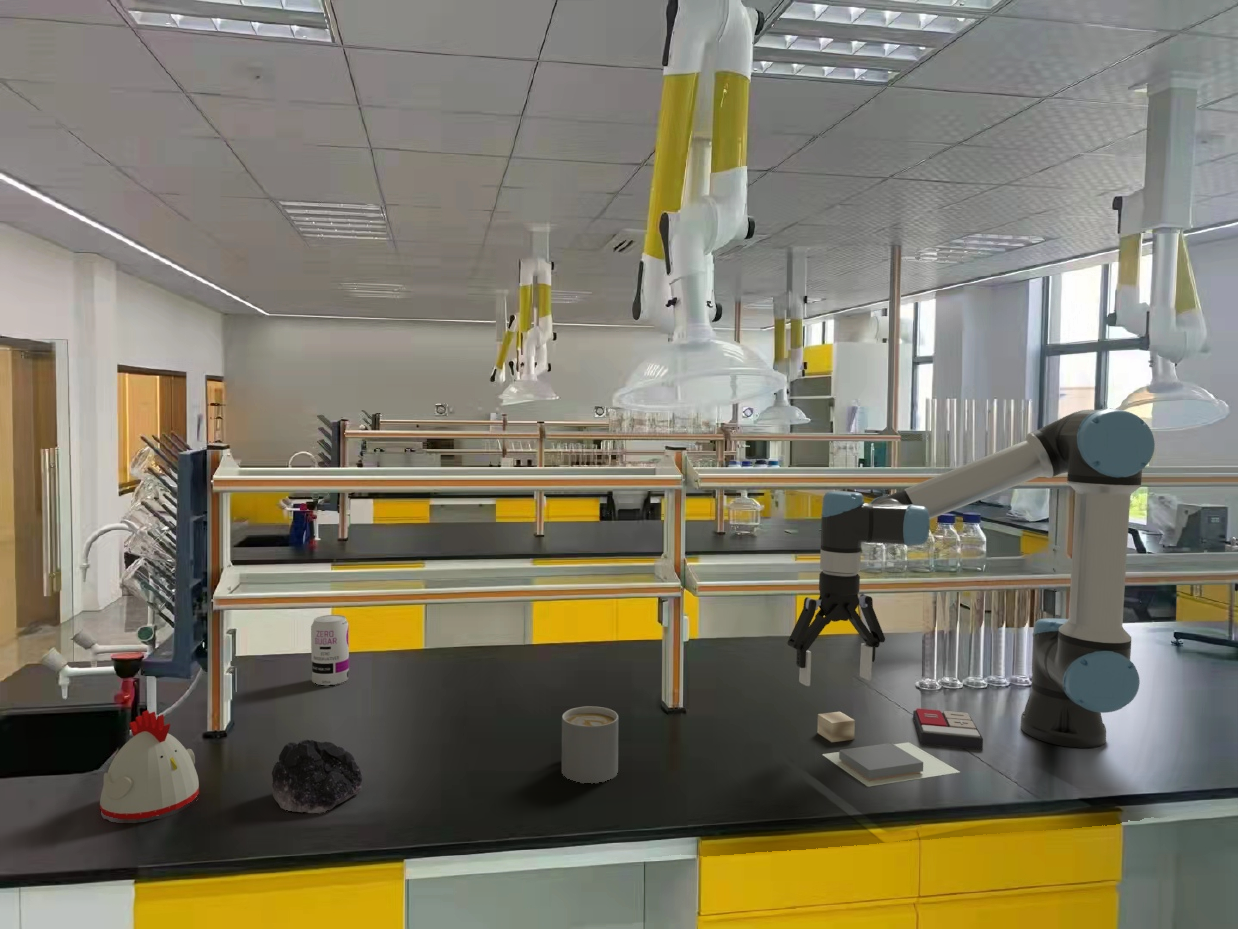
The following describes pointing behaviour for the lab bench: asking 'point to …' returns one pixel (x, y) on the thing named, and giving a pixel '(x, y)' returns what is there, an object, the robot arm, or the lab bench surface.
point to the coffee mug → (590, 744)
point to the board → (930, 769)
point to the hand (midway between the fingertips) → (835, 681)
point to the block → (836, 726)
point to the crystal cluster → (314, 776)
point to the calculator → (947, 729)
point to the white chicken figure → (149, 773)
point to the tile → (880, 761)
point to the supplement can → (330, 649)
